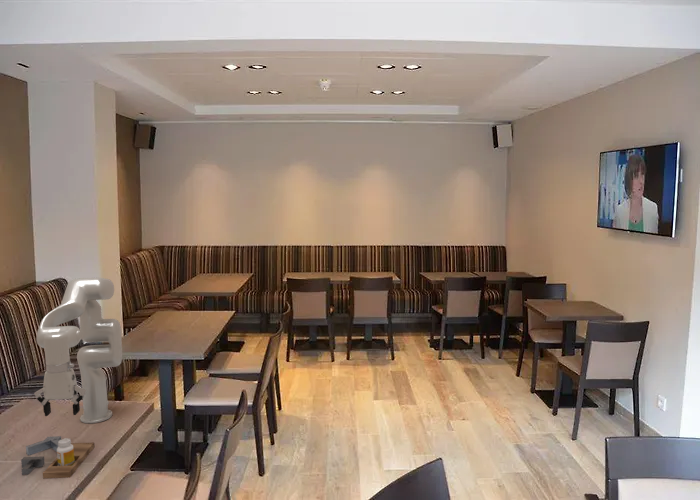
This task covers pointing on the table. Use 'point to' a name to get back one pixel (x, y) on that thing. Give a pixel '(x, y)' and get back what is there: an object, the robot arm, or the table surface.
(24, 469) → the gray tee-shaped block
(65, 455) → the supplement bottle
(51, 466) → the block with square hole
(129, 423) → the table surface
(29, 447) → the vee block
